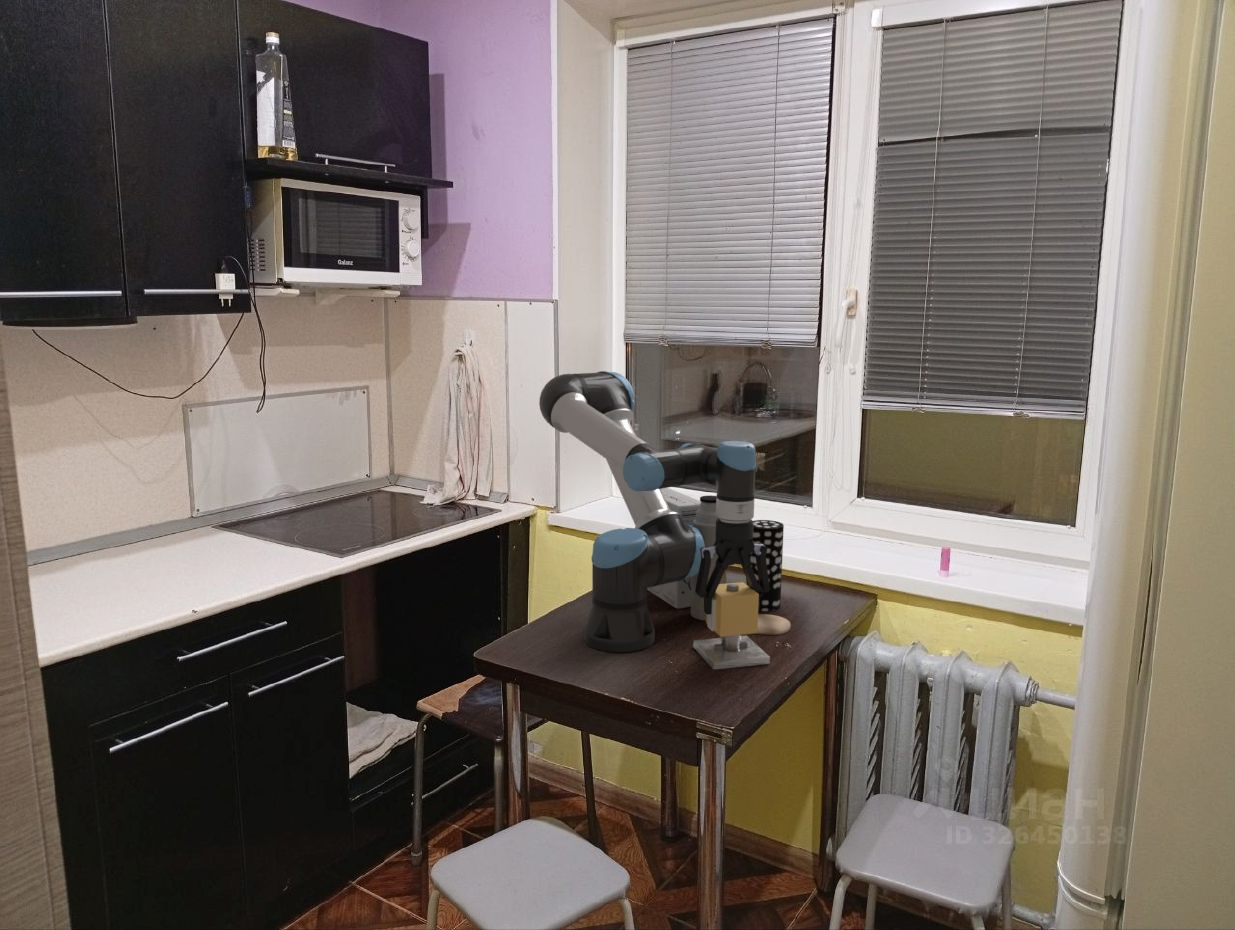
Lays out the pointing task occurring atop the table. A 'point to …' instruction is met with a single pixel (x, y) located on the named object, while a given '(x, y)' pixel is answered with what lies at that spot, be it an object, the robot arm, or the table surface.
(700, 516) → the thermos bottle
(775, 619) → the cork pad
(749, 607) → the yellow knobbed cube
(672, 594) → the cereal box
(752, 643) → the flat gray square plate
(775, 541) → the white-spotted black cylinder
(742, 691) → the table surface
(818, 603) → the table surface
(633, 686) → the table surface
